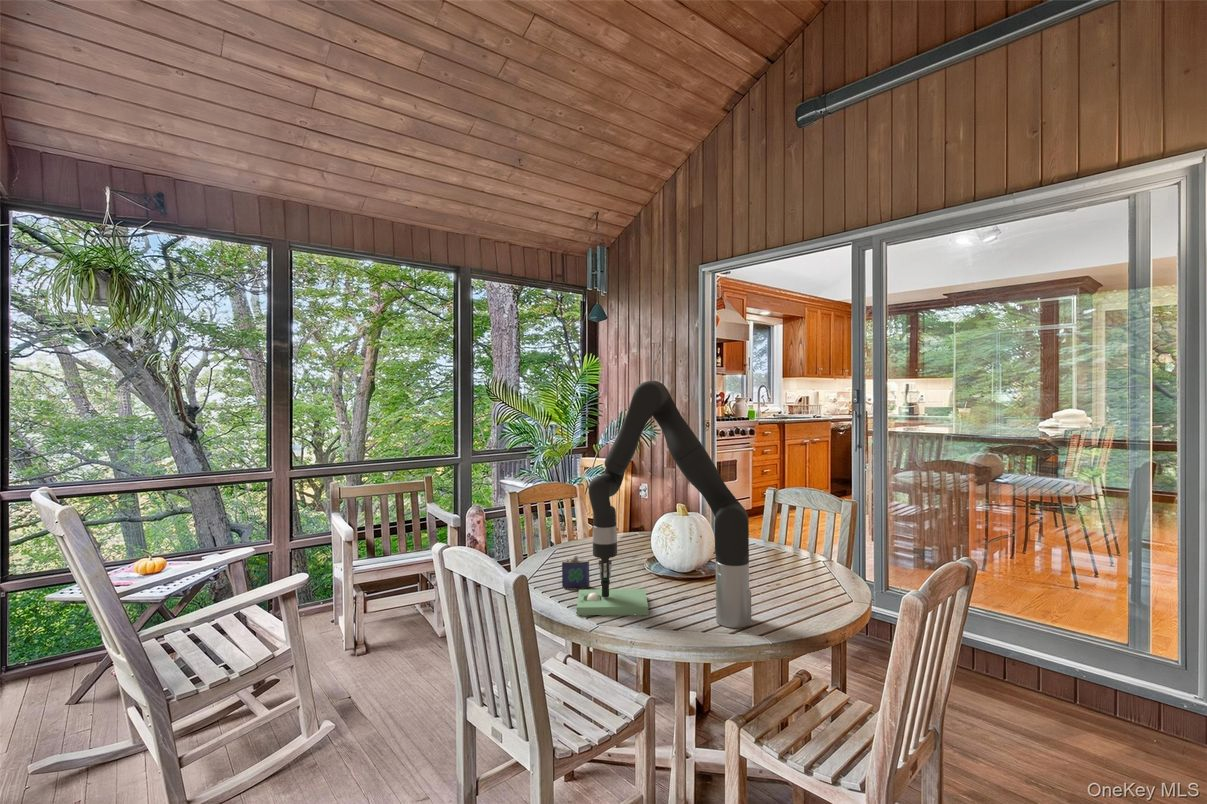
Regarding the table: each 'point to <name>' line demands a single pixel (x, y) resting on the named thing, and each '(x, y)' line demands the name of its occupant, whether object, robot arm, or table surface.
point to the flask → (575, 573)
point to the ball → (593, 597)
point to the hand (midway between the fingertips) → (605, 596)
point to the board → (613, 602)
